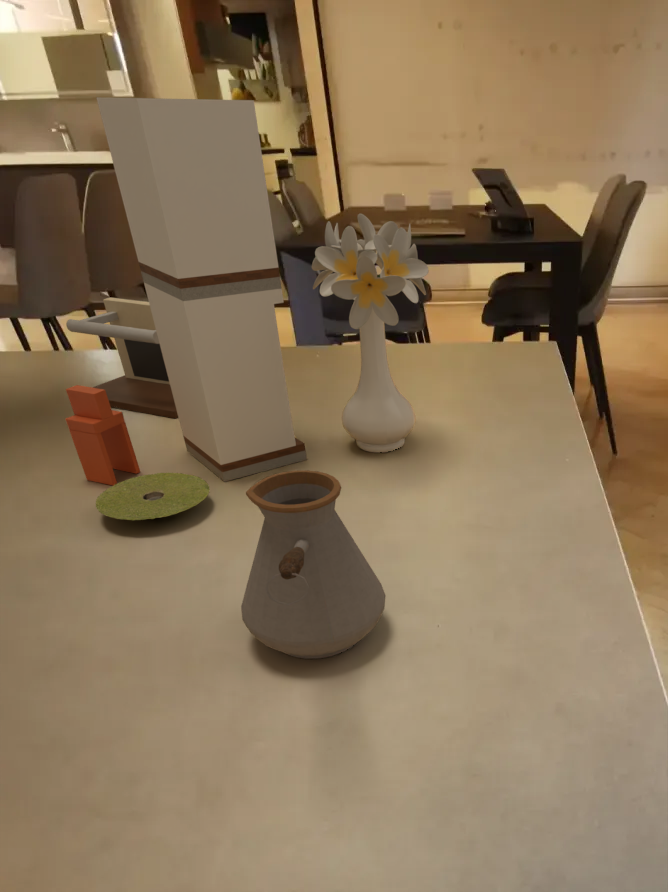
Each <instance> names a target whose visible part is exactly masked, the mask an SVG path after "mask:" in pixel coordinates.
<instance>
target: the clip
mask: <svg viewBox="0 0 668 892" xmlns="http://www.w3.org/2000/svg"><path fill="white" fill-rule="evenodd" d="M92 387H93V386H86V385H81V384H76V385H73V386H71V387H68V388H65V392H66V395H67V397H68V400H69V403H70V406H71V409H72V411H73V414H74V415H71V416H68V417H66V418H65V423H66V425H67V428H68V430H69V433H70V436H71V440H72V442H73V445H74V447H75V451H76V454H77V456H78V459H79V461H80V464H81V467H82V470H83V472H84V476H85V479H86V480H87V481H90V482H94V483H99V484H104V485H108V486H114V485H115V484H118V481H117V477H116V474H115V472H114V470H118V471H122V472H126V473H132V474H136V475H137V474H139V473H141V470H140V466H139V463H138V459H137V457H136V453H135V450H134V445H133V443H132V440H131V437H130V432H129V430H128V427H127V423H126V420H125V417H124V414H123V412H122V411H120V410H113V409H112V407H110V404H109V400H108V397H107V394H106V391H105V390H104V389H98V388H92Z"/></svg>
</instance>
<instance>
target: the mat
mask: <svg viewBox="0 0 668 892" xmlns="http://www.w3.org/2000/svg"><path fill="white" fill-rule="evenodd" d="M209 493H210V486H209V484H208V482H207V481H206V480H204V479H203V478H201V477H199V476H196V475H193V474H188V473H183V472H156V473H152V474H150V473H149V474H143V475H138V476H135V477H131V478H127V479H125V480H122V481H119V482H117V484H115V485H114V486H113V485H111V486H110V487H108V488H106V490H104V491H102V492H101V493H100V494H99V495H98V496H97V498H96V500H95V508H96V510H97V511H98V512H99V513H100V514H102V515H104V516H106V517H109V518H112V519H116V520H127V521H141V520H142V521H143V520H154V519H158V518H166V517H171V516H173V515H177V514H179V513H181V512H185V511H187V510H189V509H192V508H193V507H195V506H197V505H198V504H201V502H203V501H204V500H205V499H206V498H207V497H208V495H209Z"/></svg>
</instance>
